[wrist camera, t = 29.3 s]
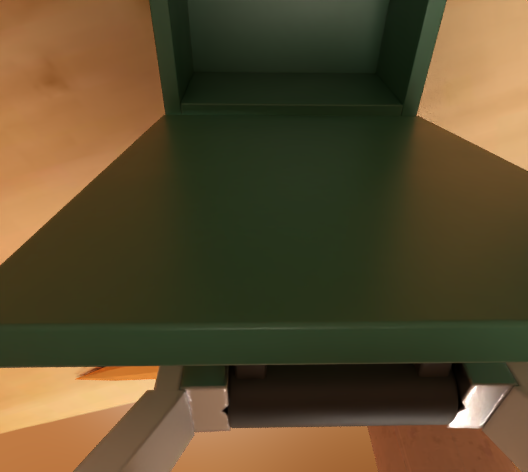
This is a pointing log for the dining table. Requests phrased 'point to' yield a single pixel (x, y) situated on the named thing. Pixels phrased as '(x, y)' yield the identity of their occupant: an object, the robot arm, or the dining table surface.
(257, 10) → the box
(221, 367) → the robot arm
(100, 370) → the carrot
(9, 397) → the dining table surface
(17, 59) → the dining table surface
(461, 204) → the lunchbox lid
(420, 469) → the travel mug
